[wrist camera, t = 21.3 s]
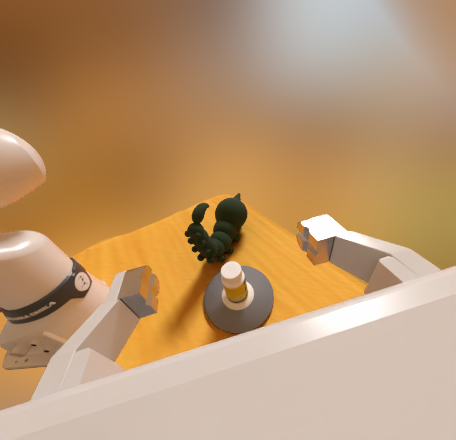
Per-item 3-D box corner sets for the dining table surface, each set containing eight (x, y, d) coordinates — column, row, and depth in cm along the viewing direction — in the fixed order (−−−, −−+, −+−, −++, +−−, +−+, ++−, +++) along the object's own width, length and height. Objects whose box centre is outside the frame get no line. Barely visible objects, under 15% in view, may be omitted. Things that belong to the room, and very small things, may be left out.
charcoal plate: (209, 344, 33) (208, 342, 33) (201, 277, 45) (201, 275, 45) (286, 320, 34) (286, 317, 34) (259, 260, 46) (258, 258, 46)
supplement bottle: (251, 299, 37) (247, 275, 32) (230, 308, 37) (222, 284, 32) (243, 281, 41) (238, 256, 36) (224, 288, 41) (216, 264, 36)
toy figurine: (227, 280, 45) (256, 214, 61) (204, 227, 33) (248, 161, 48) (196, 271, 49) (231, 211, 65) (166, 221, 37) (217, 162, 52)
